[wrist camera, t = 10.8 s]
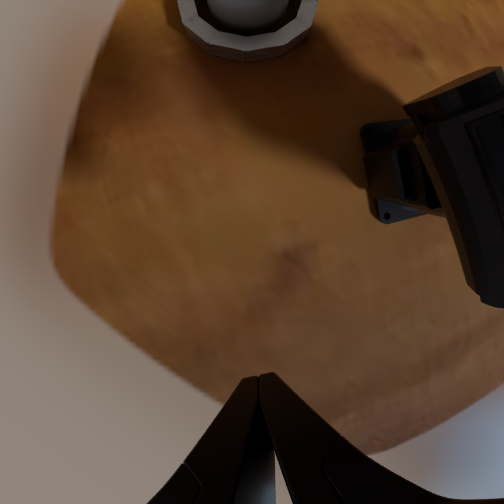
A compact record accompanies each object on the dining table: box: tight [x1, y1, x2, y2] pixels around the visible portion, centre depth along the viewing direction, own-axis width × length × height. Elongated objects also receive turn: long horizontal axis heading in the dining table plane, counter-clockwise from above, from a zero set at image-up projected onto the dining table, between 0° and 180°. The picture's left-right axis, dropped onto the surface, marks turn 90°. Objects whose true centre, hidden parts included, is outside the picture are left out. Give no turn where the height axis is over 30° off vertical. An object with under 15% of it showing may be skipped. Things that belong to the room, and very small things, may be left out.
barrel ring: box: [177, 0, 318, 62], centre depth 15 cm, size 8×8×2 cm
